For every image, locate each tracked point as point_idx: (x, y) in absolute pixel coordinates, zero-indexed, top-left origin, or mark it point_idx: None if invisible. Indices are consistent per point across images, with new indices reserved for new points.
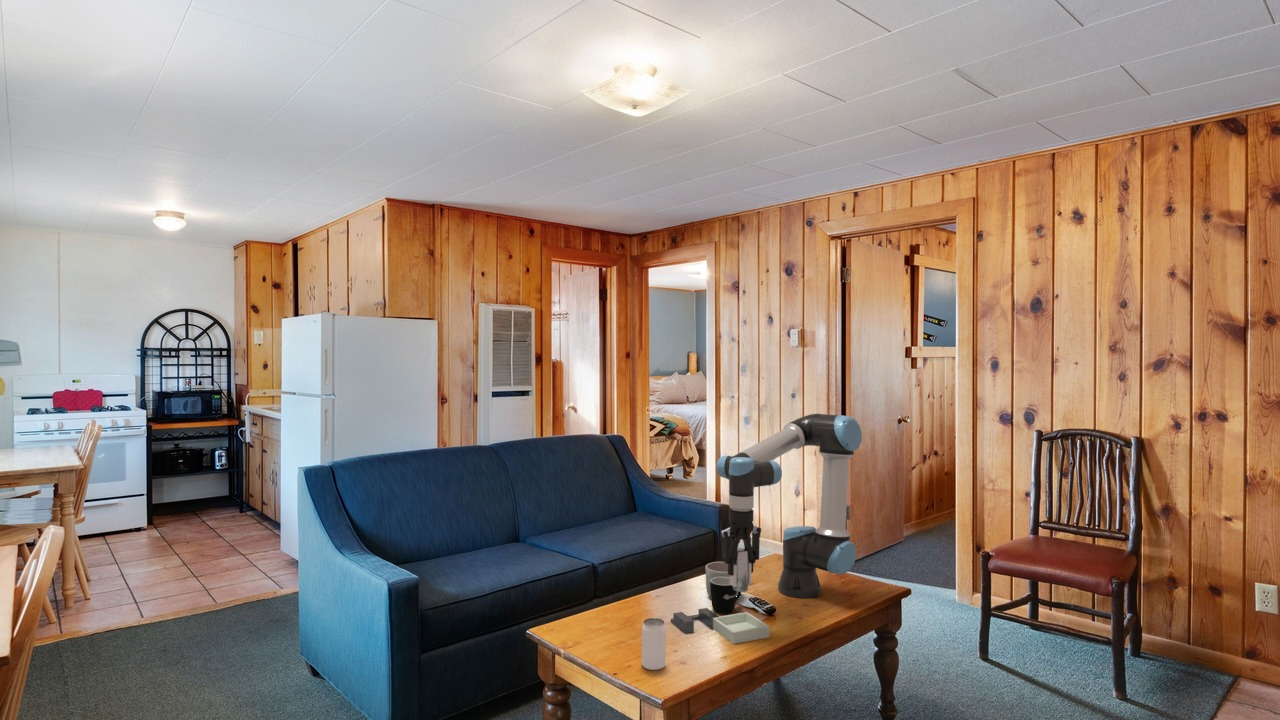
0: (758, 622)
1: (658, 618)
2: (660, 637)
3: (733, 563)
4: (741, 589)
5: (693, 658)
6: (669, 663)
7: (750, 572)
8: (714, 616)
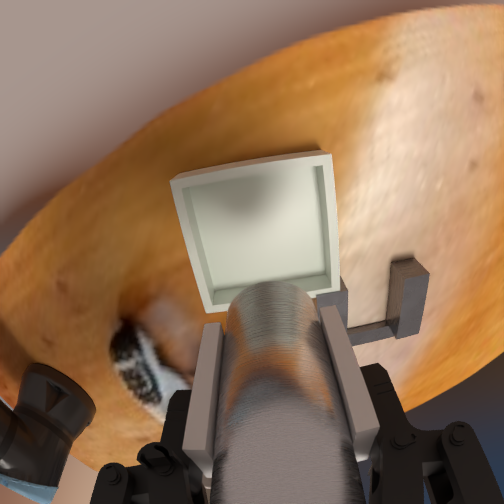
0: (193, 232)
1: None
2: None
3: (396, 440)
4: (286, 289)
5: (456, 105)
6: (499, 109)
7: (201, 385)
8: (331, 298)
